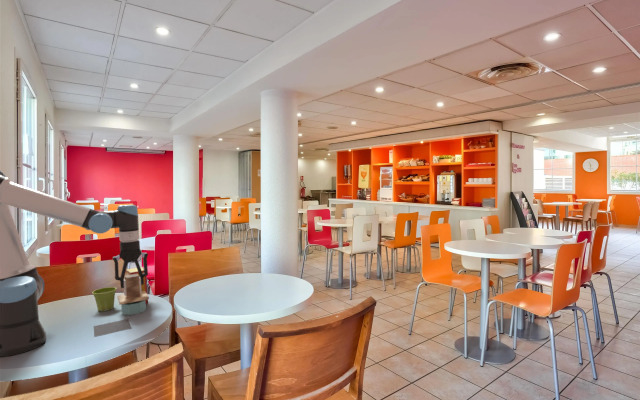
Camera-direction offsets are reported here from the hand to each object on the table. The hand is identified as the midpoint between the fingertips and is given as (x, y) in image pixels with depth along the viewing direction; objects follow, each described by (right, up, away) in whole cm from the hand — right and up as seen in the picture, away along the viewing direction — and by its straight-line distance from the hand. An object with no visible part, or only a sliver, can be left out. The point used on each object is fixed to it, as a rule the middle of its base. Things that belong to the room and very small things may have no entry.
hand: (132, 293), depth 154 cm
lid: (0, -2, 0) cm, 2 cm away
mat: (+1, -9, -17) cm, 19 cm away
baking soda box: (-5, -8, +14) cm, 17 cm away
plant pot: (-15, -9, +6) cm, 18 cm away
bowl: (0, -8, 0) cm, 8 cm away
